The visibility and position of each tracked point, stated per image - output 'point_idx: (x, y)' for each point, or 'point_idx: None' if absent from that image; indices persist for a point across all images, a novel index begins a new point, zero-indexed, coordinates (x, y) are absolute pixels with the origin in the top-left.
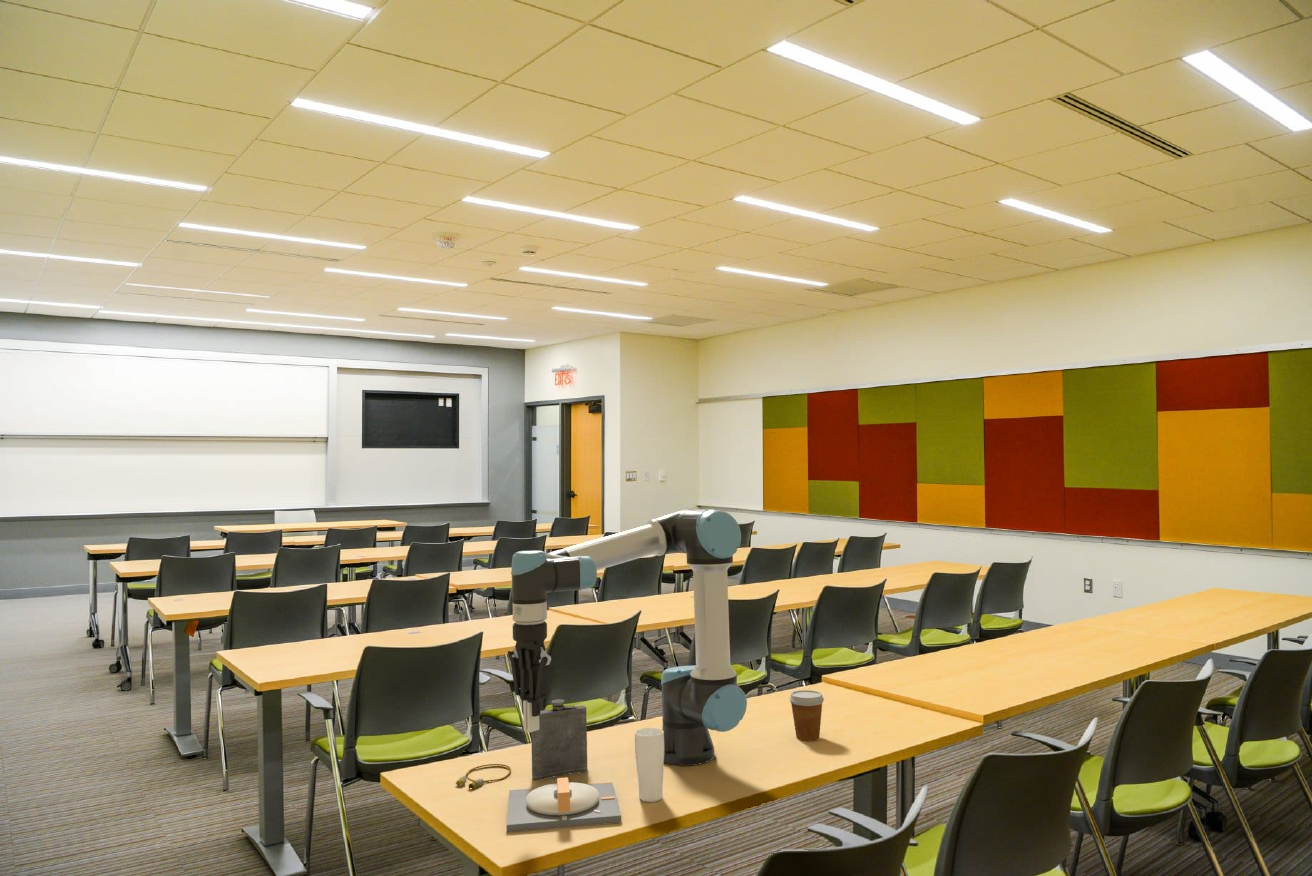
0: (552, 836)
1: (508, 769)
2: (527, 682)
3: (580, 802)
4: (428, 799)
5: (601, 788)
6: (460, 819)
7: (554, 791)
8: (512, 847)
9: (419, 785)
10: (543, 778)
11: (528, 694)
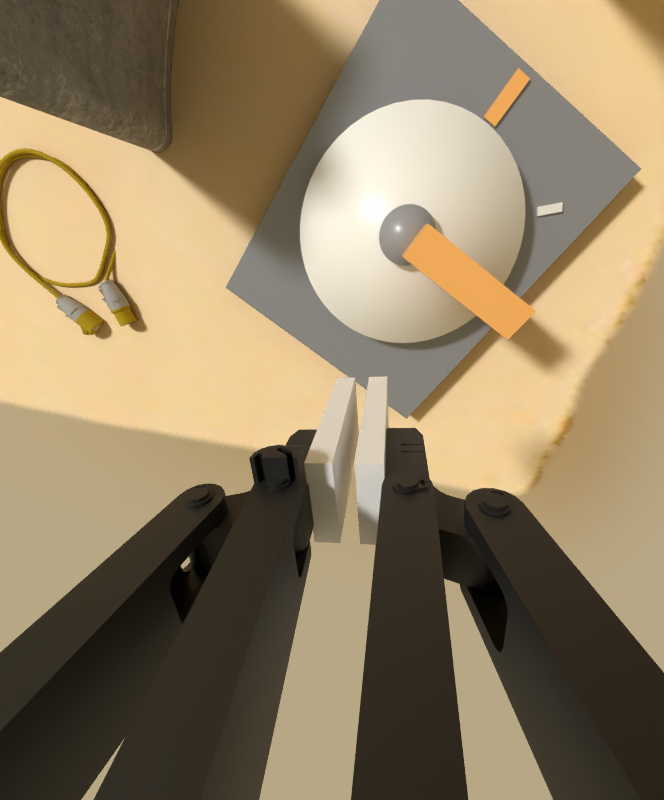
0: (509, 362)
1: (43, 158)
2: (277, 645)
3: (496, 234)
4: (136, 412)
5: (419, 45)
6: (275, 430)
7: (385, 253)
8: (474, 445)
9: (48, 382)
10: (169, 120)
11: (297, 524)
